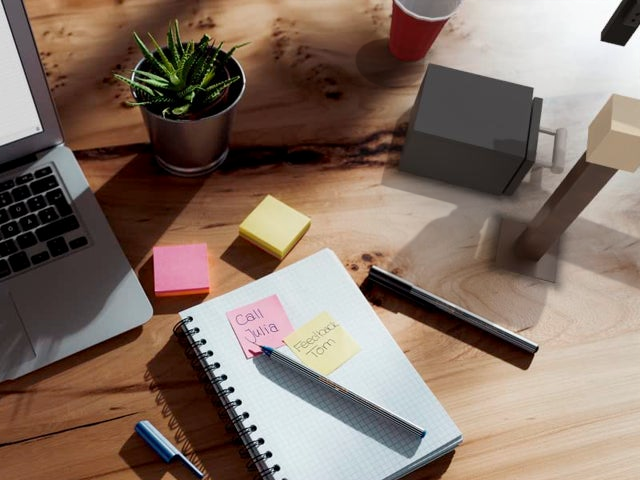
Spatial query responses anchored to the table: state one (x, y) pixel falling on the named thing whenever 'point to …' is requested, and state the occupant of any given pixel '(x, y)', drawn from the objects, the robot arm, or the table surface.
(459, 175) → the cabinet
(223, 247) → the table surface
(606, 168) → the stand
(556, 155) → the drawer
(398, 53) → the plastic cup
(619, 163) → the block
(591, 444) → the table surface
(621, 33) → the robot arm
